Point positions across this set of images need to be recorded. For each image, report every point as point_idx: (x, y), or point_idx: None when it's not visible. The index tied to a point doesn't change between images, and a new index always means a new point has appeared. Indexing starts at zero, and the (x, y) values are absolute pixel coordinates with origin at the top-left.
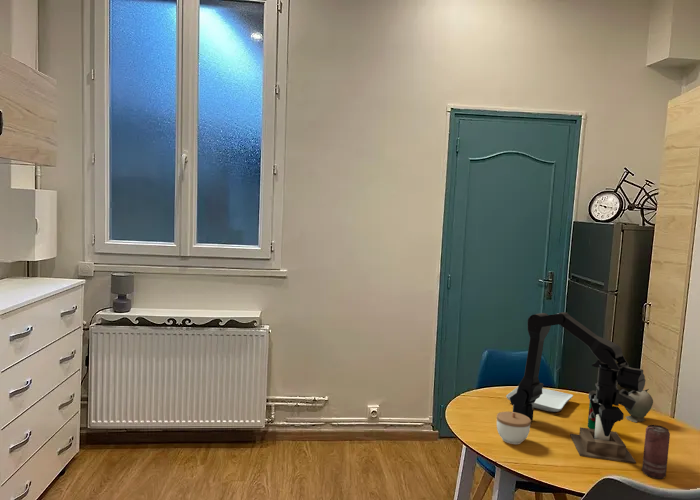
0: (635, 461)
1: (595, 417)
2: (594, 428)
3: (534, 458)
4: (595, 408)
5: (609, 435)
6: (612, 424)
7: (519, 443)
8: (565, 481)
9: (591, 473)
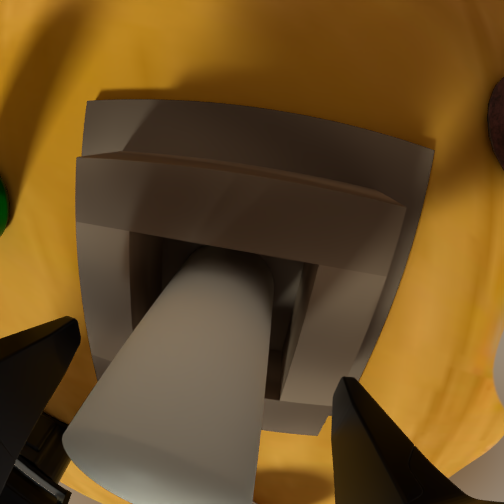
0: (433, 152)
1: (47, 393)
2: (2, 221)
3: None
4: (2, 453)
5: (244, 306)
6: (433, 485)
7: (252, 502)
8: (476, 449)
9: (472, 398)
